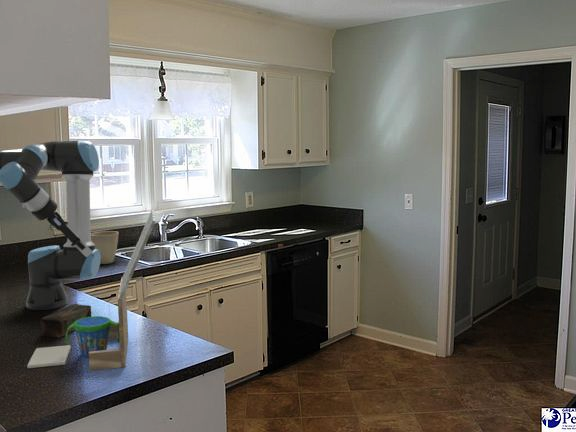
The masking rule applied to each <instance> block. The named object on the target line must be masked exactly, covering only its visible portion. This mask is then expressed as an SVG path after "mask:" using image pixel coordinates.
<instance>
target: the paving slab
mask: <svg viewBox="0 0 576 432" xmlns="http://www.w3.org/2000/svg"><path fill="white" fill-rule="evenodd" d="M71 348H72V346H71V344H69V345H67V344H66V345H58V346H57V345H56V346H47V347H37V348H35V350H34V352H33V354H32V356H31V358H30V359H29V361H28V364H27V366H26V367H27V369H33V368H34V369H35V368H44V367H52V366H53V367H55V366H63V365H66V362H67V359H68V357H69V354H70V351H71Z"/></svg>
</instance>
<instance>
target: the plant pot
mask: <svg viewBox="0 0 576 432" xmlns="http://www.w3.org/2000/svg"><path fill="white" fill-rule="evenodd" d="M91 241H92V242H93V243H94V244H95V249H97V250H99V251H100V255H101V260H100V265H106V264H112V263H114V261H115V257H116V253H117V249H118V243H119V231H113V230H104V231H103V230H102V231H95V232H91Z"/></svg>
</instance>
